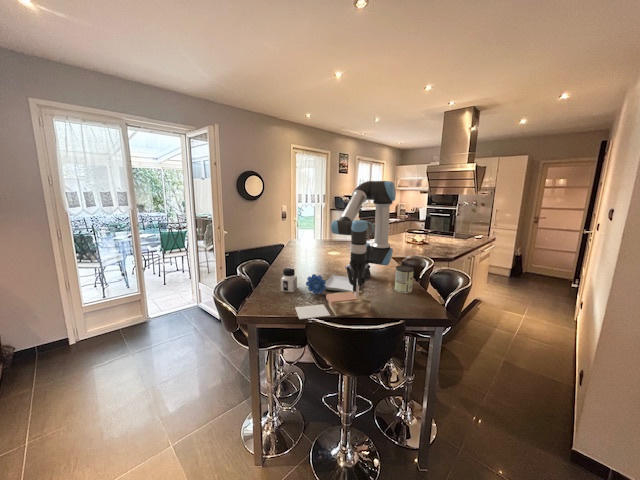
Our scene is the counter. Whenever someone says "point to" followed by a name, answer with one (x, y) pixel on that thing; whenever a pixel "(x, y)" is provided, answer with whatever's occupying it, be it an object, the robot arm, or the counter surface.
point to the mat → (312, 311)
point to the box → (351, 306)
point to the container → (288, 280)
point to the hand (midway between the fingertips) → (356, 297)
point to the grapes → (316, 284)
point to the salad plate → (339, 284)
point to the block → (340, 297)
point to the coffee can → (404, 279)
